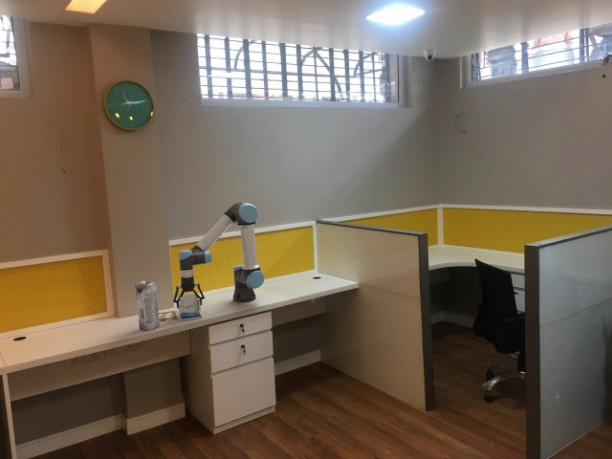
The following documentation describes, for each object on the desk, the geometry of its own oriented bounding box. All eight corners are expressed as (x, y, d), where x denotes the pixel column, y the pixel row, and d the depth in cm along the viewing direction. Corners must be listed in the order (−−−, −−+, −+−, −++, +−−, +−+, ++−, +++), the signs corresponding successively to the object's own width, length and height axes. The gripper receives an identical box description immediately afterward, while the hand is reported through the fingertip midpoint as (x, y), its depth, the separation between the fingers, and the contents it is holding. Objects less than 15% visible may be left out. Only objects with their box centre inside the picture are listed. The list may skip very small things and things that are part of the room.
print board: (176, 312, 331) (176, 310, 330) (178, 319, 316) (178, 317, 316) (149, 316, 326) (149, 314, 325) (150, 323, 311) (150, 320, 311)
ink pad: (200, 312, 328) (199, 310, 328) (202, 317, 316) (202, 315, 316) (178, 315, 324) (178, 313, 323) (180, 321, 312) (180, 318, 312)
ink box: (194, 316, 315) (192, 297, 313) (180, 316, 317) (179, 297, 315) (199, 312, 323) (198, 293, 322) (186, 312, 325) (185, 293, 323)
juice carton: (162, 325, 305) (157, 279, 301) (149, 331, 296) (145, 284, 292) (149, 324, 309) (145, 278, 305) (137, 330, 299) (132, 283, 296)
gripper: (206, 272, 324) (208, 307, 327) (166, 277, 316) (169, 313, 319) (207, 275, 317) (210, 311, 320) (167, 279, 309) (170, 316, 312)
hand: (190, 312), depth 320 cm, fingers closed on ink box, 11 cm apart
